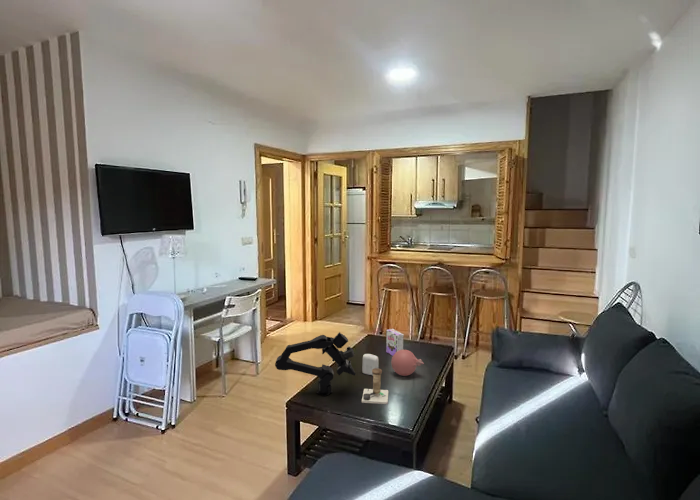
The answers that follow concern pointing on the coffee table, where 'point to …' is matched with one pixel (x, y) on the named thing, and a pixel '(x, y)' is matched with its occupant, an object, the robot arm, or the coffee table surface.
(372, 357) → the photo printer
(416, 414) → the coffee table surface
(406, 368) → the balloon
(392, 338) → the candy box
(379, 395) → the dial board
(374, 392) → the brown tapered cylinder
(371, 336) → the coffee table surface
